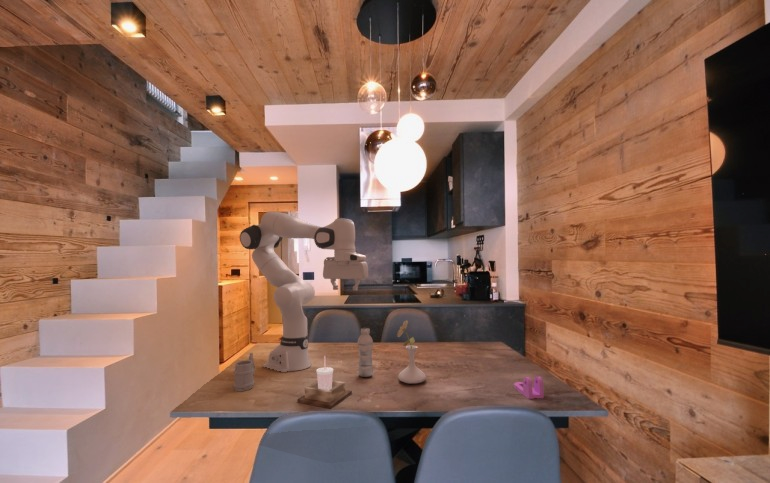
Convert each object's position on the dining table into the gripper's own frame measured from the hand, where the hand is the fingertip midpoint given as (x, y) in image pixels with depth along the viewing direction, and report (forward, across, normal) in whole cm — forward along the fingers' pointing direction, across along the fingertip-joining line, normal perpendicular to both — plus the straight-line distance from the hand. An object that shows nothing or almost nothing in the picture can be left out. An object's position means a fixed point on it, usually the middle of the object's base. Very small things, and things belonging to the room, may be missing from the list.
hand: (345, 290), depth 146 cm
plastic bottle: (+37, +5, +8) cm, 38 cm away
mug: (+37, -34, -20) cm, 54 cm away
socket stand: (+37, +2, -18) cm, 41 cm away
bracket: (+38, +68, +15) cm, 79 cm away
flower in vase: (+37, +25, +9) cm, 46 cm away
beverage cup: (+36, +2, -18) cm, 41 cm away
